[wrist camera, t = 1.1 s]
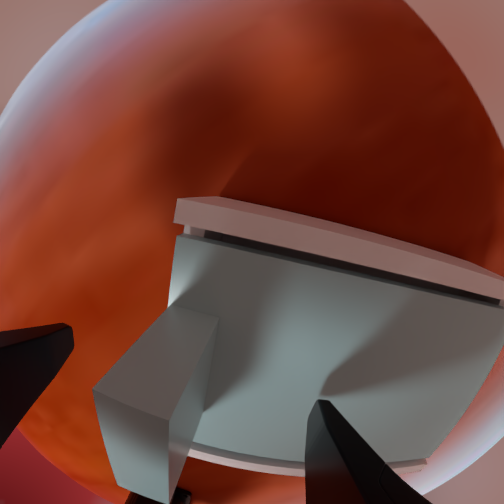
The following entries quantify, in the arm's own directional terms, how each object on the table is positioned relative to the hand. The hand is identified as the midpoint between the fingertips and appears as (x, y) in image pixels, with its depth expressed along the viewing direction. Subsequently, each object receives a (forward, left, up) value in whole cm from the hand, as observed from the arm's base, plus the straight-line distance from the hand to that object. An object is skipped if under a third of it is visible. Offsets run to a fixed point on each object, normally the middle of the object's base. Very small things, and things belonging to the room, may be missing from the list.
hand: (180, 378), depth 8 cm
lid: (0, -6, -1) cm, 6 cm away
